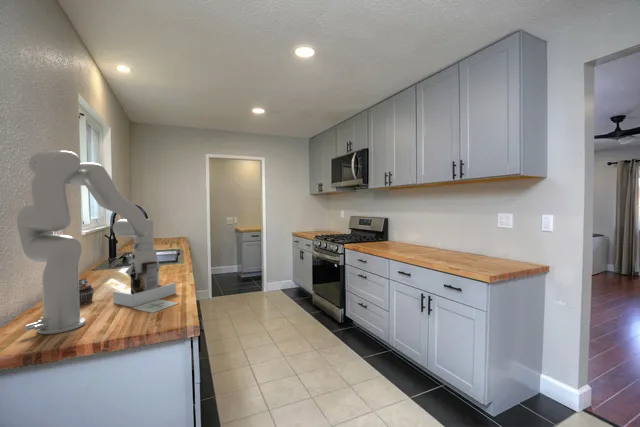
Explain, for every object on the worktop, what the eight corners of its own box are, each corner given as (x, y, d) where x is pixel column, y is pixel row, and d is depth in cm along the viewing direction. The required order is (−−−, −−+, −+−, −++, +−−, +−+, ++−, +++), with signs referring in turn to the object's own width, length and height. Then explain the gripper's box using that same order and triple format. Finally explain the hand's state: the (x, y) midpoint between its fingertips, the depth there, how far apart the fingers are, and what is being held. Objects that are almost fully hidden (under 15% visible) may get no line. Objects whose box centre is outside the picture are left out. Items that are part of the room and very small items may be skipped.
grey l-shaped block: (132, 307, 125) (132, 295, 125) (113, 303, 130) (113, 291, 130) (175, 293, 144) (175, 282, 144) (157, 290, 149) (157, 280, 149)
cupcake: (65, 307, 124) (65, 283, 124) (65, 301, 132) (65, 278, 131) (95, 303, 130) (94, 279, 130) (93, 297, 138) (93, 275, 137)
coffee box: (129, 298, 135) (129, 262, 135) (142, 294, 142) (142, 259, 141) (146, 300, 133) (146, 263, 132) (158, 296, 139) (157, 261, 139)
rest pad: (152, 313, 118) (152, 311, 118) (132, 308, 123) (132, 307, 123) (178, 303, 129) (178, 302, 129) (158, 300, 134) (158, 299, 134)
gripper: (130, 249, 127) (130, 291, 128) (166, 244, 143) (166, 282, 143) (118, 248, 130) (119, 289, 131) (155, 243, 146) (155, 280, 147)
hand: (144, 285), depth 137 cm, fingers closed on coffee box, 6 cm apart
